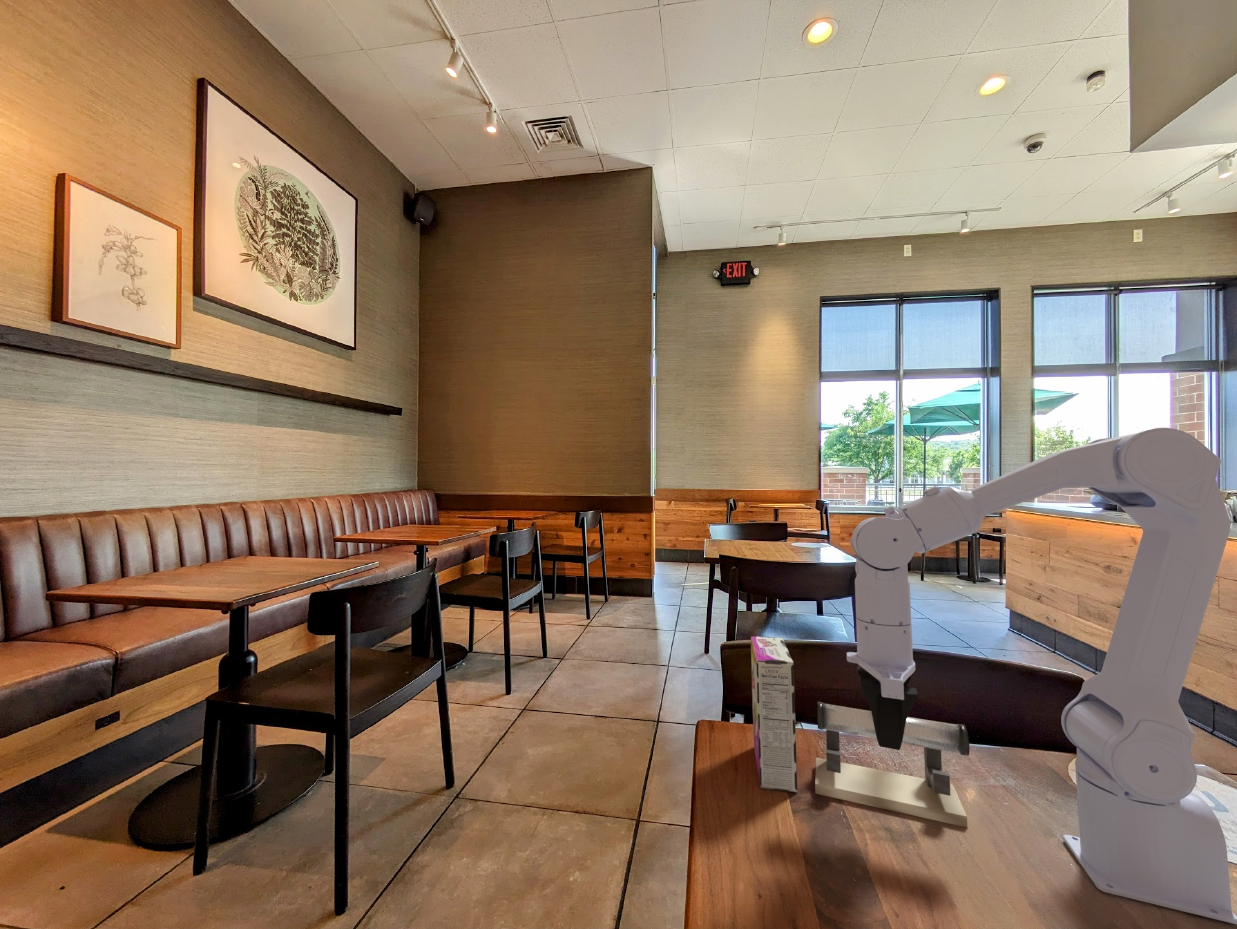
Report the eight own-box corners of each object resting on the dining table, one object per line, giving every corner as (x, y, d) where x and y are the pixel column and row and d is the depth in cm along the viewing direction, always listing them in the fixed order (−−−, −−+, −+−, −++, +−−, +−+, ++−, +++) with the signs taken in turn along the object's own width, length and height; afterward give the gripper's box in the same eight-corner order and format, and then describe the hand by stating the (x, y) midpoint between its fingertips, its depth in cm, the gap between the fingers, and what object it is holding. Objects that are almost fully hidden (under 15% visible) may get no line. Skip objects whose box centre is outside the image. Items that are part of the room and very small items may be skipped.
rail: (962, 747, 54) (961, 720, 54) (970, 761, 51) (968, 732, 52) (818, 722, 60) (817, 697, 60) (817, 733, 57) (817, 707, 58)
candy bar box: (751, 746, 73) (749, 635, 74) (786, 750, 72) (784, 637, 73) (757, 790, 62) (755, 658, 63) (798, 794, 61) (795, 661, 62)
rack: (953, 794, 61) (950, 744, 62) (967, 827, 55) (964, 772, 55) (816, 766, 67) (815, 721, 68) (815, 793, 61) (814, 744, 62)
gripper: (843, 604, 65) (846, 709, 64) (848, 631, 52) (852, 763, 51) (903, 609, 62) (908, 718, 61) (925, 639, 49) (930, 779, 48)
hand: (887, 740), depth 56 cm, fingers closed on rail, 3 cm apart
